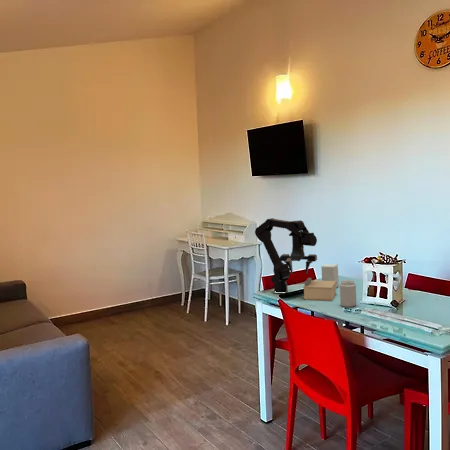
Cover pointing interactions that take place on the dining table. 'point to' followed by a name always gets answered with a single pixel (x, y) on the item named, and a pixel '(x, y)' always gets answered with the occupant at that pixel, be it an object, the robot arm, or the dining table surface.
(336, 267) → the supplement box
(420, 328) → the dining table surface
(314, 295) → the mailer box
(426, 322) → the dining table surface
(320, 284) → the lid
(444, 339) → the dining table surface
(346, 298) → the can
